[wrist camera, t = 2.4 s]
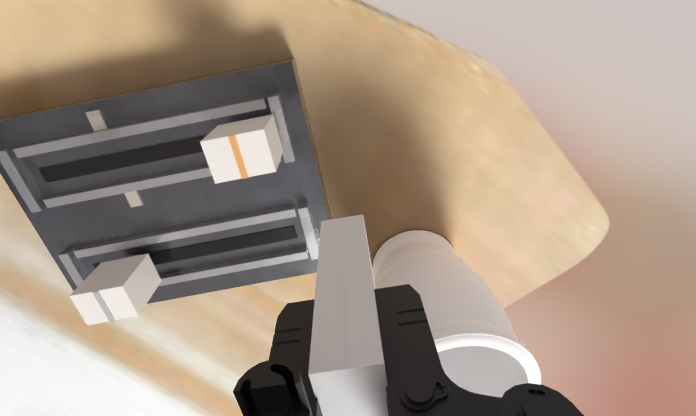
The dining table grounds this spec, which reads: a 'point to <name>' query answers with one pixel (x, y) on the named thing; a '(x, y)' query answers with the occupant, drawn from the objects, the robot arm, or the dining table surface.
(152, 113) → the dark grey slotted tray
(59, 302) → the dining table surface
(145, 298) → the fader
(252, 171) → the fader
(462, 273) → the jar
